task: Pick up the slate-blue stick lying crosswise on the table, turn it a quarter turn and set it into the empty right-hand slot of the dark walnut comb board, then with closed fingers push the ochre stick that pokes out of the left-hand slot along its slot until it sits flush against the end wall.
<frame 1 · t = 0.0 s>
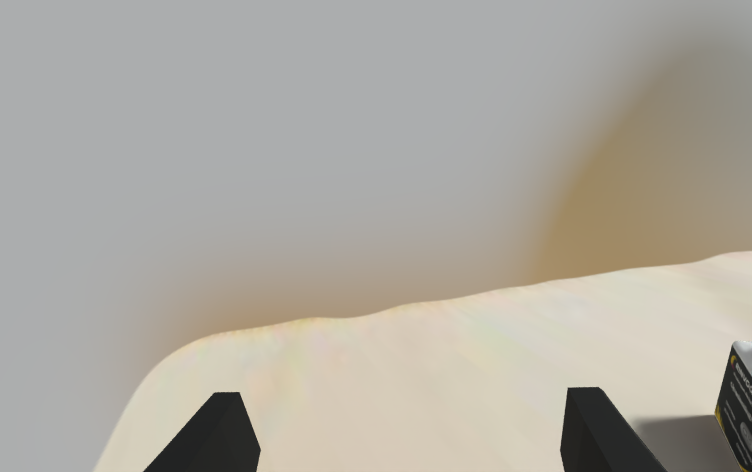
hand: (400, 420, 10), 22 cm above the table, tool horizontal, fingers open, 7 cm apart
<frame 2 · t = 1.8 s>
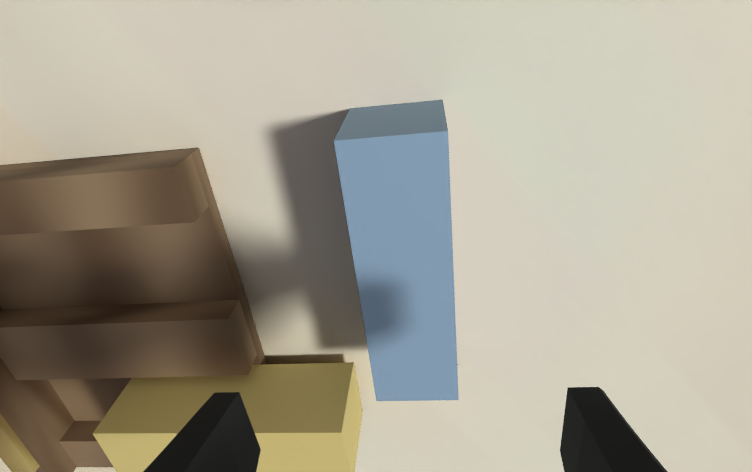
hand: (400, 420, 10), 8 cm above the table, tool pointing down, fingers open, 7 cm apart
stick ochre: (251, 388, 21), point 1 cm above the table, touching comb board
comb board: (125, 323, 21), on the table
stick blue: (408, 235, 18), on the table
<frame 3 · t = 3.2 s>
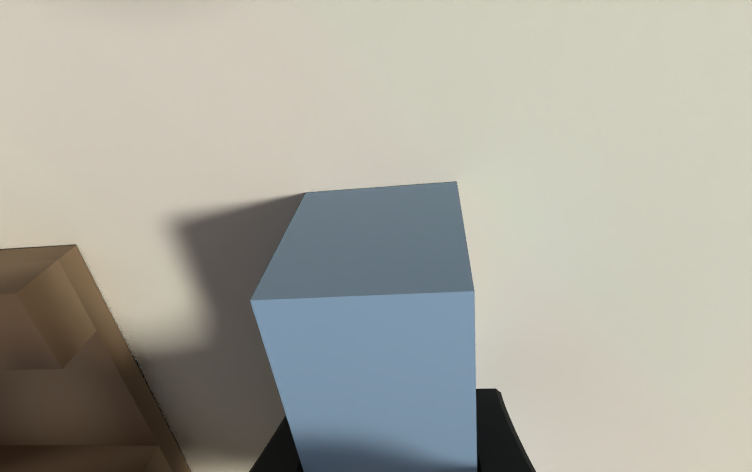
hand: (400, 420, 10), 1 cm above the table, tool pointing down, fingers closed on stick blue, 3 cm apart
comb board: (11, 458, 15), on the table
stick blue: (402, 370, 12), on the table, touching gripper
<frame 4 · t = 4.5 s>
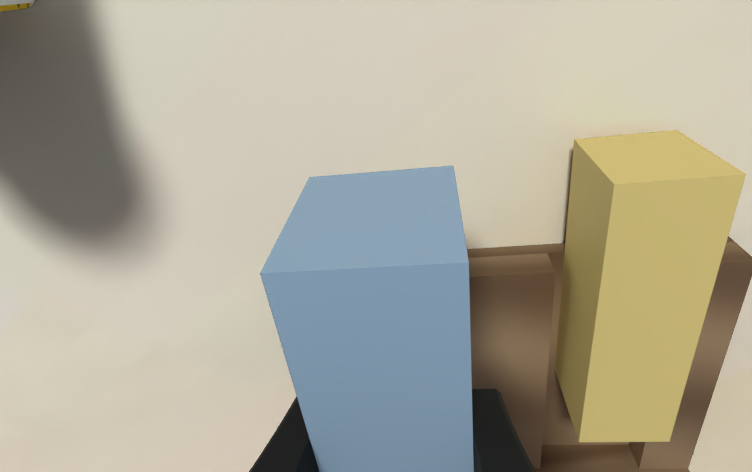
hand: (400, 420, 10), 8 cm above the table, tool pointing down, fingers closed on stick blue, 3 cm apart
stick ochre: (605, 268, 17), point 1 cm above the table, touching comb board
comb board: (501, 363, 20), on the table
stick blue: (402, 349, 12), point 6 cm above the table, touching gripper
when the fingers open (3 cm above the table, at t = 6.2 s): stick blue stays where it is, resting on comb board.
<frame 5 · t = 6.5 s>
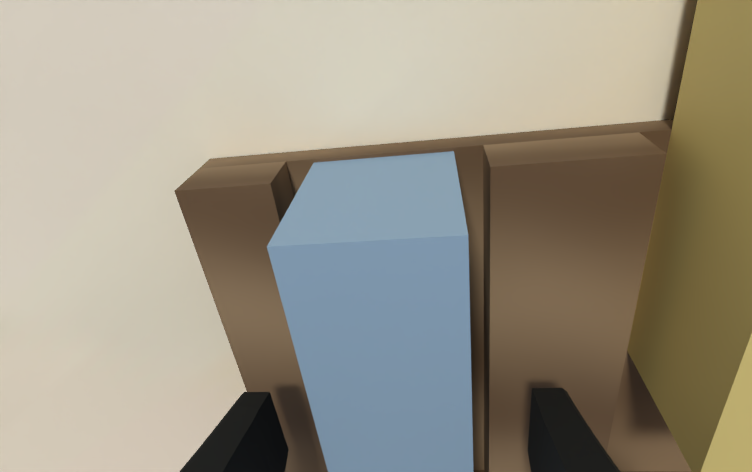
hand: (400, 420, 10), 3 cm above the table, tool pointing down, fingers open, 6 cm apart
stick ochre: (744, 162, 9), point 1 cm above the table, touching comb board
comb board: (536, 342, 13), on the table
stick blue: (403, 335, 12), point 1 cm above the table, touching comb board
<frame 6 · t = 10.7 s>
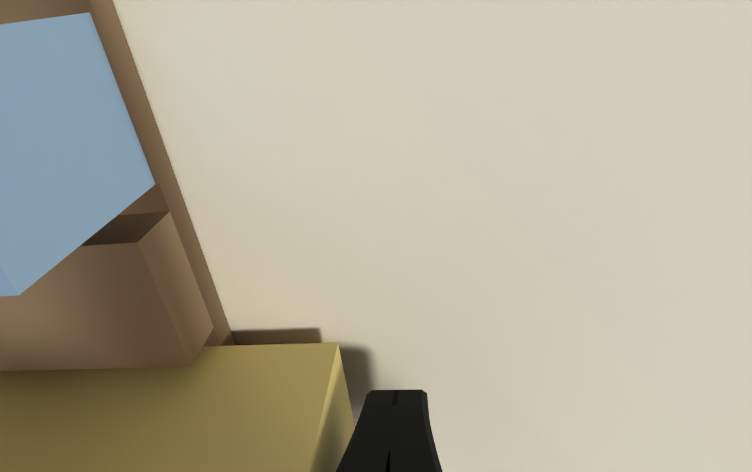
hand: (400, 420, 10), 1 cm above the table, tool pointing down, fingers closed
stick ochre: (157, 391, 12), point 1 cm above the table, touching gripper
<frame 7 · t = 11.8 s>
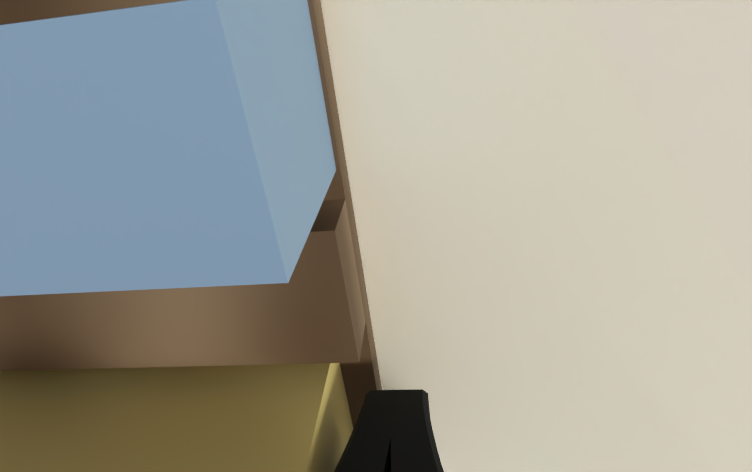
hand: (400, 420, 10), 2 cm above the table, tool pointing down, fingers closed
stick ochre: (154, 391, 12), point 1 cm above the table, touching comb board, gripper
comb board: (105, 264, 11), on the table
stick blue: (52, 113, 8), point 1 cm above the table, touching comb board
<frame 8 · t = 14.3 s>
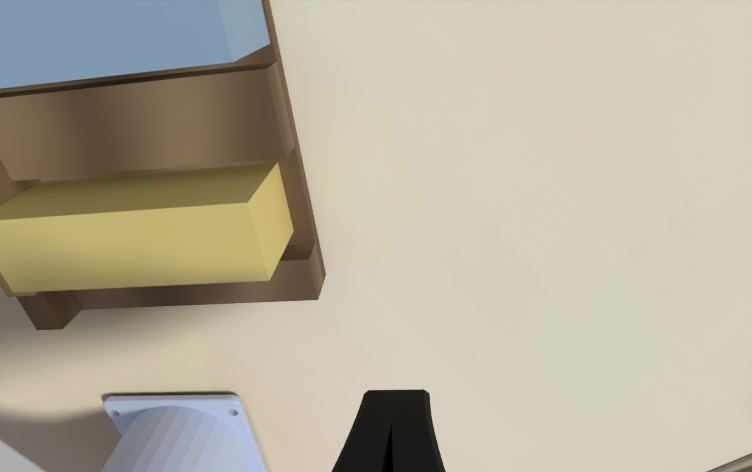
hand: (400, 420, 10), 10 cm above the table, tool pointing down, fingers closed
stick ochre: (168, 206, 19), point 1 cm above the table, touching comb board
comb board: (139, 117, 18), on the table
stick blue: (115, 12, 15), point 1 cm above the table, touching comb board
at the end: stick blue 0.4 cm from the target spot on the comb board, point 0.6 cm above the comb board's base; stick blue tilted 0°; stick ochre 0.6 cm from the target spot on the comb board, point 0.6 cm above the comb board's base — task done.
